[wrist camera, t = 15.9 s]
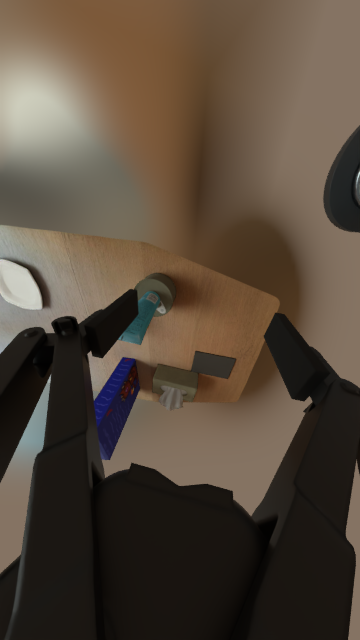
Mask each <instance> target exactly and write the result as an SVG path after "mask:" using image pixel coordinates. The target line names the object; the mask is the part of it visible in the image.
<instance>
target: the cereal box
mask: <svg viewBox="0 0 360 640" xmlns="http://www.w3.org/2000/svg"><path fill="white" fill-rule="evenodd" d="M139 390H140V386H139V379H138V373H137V367H136V361H135V359H131V358H124V357H123V358H122V359H121V361H120V362H119V364H118V365H117V367H116V368H115V370H114V371H113V373H112V375H111V376H110V378H109V379H108V381H107V382H106V384H105V385H104V387H103V388H102V390H101V391H100V393H99V394H98V396H97V398H96V399H95V401H94V407H95V415H96V423H97V431H98V439H99V447H100V454H101V459H104V460H110V458H111V456H112V453H113V451H114V449H115V446H116V444H117V442H118V439H119V437H120V435H121V432H122V430H123V428H124V425H125V423H126V421H127V418H128V416H129V413H130V411H131V409H132V406H133V404H134V402H135V399H136V397H137V395H138V392H139Z"/></svg>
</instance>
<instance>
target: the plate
mask: <svg viewBox="0 0 360 640" xmlns="http://www.w3.org/2000/svg"><path fill="white" fill-rule="evenodd" d="M0 294H1V295H2V297H3V298H4V299H5V300H6V301H7V302H9V303H12V304H14V305H16V306H19V307H21V308H25V309H31V310H38V309H43V304H42V295H41V292H40V289H39V287H38V285H37V283H36V281H35V280H34V278H33V276H32V275H31V273H30V271H29V270H28V269H26V268H24V267H22V266H20V265H18V264H16V263H13V262H11V261H8V260H3V259H0Z"/></svg>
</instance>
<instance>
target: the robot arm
mask: <svg viewBox="0 0 360 640" xmlns="http://www.w3.org/2000/svg"><path fill="white" fill-rule="evenodd" d="M351 196H352V200H353V202H354V204H355V205H356V207H358V208H359V209H360V162H359V164H358V166H357V168H356V171H355V173H354V176H353V180H352V185H351ZM138 314H139V311H138V292H137V290H133V289H129V290H128V291H127V292H126V293H124V294H123V295H122V296H121V297H119V298H118V299H117V300H115V301H114V302H113V303H112V304H110V305H109V306H108V307H107V308H105V309H104V310H102V309H101V310H98V311H96V312H94V313H93V314H92V315H91V316H89V317H88V318H86V319H85V320H84V321H82V322H81V323H80V324H78V323H77V319H76V318H75V317H73V316H64V317H60V318H58V319H55V320H54V321H53V322H52V323H51V324H52V327H53V329H54V332H55V333H46V332H45V330H44V329H43V328H41V327H33V328H29V329H25V330H24V331H22V332H20V333H19V334H18V335H17V336H16V337H15V338H14V339H13V340H12V342H11V343H10V344H9V345H8V346H7V347H6V348H5V349H4V351H3V352H2V353H1V354H0V482H1V480H2V478H3V476H4V474H5V472H6V470H7V468H8V465H9V463H10V461H11V459H12V457H13V455H14V452H15V450H16V448H17V446H18V444H19V441H20V439H21V437H22V435H23V433H24V430H25V429H26V427H27V424H28V422H29V420H30V418H31V416H32V414H33V412H34V409H35V407H36V405H37V403H38V401H39V399H40V396H41V394H42V392H43V390H44V388H45V386H46V383H47V381H48V379H49V377H50V375H51V383H50V393H49V401H48V411H47V420H46V429H45V438H44V446H43V449H42V451H41V452H40V453H38V454H37V457H36V459H35V463H34V466H33V473H32V480H31V487H30V495H29V502H28V510H27V516H26V523H25V531H24V538H23V545H22V552H21V555H20V556H19V557H18V558H17V559H16V560H15V561H13V562H12V563H11V564H10V565H9V566H8V567H7V568H6V569H5V570H4V571H3V572H2V573H1V574H0V640H348V635H349V625H350V616H351V606H352V596H353V586H354V577H355V567H356V554H355V551H354V548H353V546H352V545H351V544H350V542H349V541H348V540H347V538H346V525H347V518H348V512H349V505H350V498H351V491H352V485H353V478H354V472H355V465H356V459H357V463H358V469H359V474H360V388H359V387H358V386H356V385H355V384H353V383H352V382H350V381H347V380H345V379H341V378H340V377H339V376H338V375H337V373H336V372H335V371H334V370H333V369H332V367H331V366H330V365H329V364H328V363H327V361H326V360H325V359H324V358H323V356H322V355H321V354H320V353H319V352H318V351H317V350H316V349H314V348H313V347H310V346H309V345H308V344H307V343H306V341H305V340H304V339H303V337H302V336H301V335H300V334H299V332H298V331H297V330H296V329H295V327H294V326H293V325H292V323H291V322H290V321H289V320H288V318H287V317H286V316H285V315H284V314H280V313H275V315H274V317H273V319H272V321H271V323H270V325H269V327H268V329H267V331H266V333H265V335H264V338H265V340H266V343H267V345H268V347H269V349H270V352H271V354H272V356H273V358H274V361H275V363H276V365H277V367H278V369H279V372H280V374H281V376H282V378H283V381H284V383H285V385H286V387H287V389H288V392H289V394H290V396H291V398H292V399H295V400H300V401H305V400H306V399H307V398H308V397H309V396H310V397H311V399H312V401H313V402H312V403H311V404H310V405H309V406H308V407H307V408H306V409H305V410H304V411H303V412H305V415H304V417H303V420H302V421H301V424H300V426H299V428H298V430H297V432H296V434H295V436H294V438H293V440H292V442H291V444H290V446H289V448H288V450H287V452H286V454H285V456H284V458H283V460H282V462H281V464H280V466H279V468H278V470H277V472H276V475H275V476H274V478H273V480H272V482H271V484H270V487H269V489H268V491H267V493H266V495H265V497H264V499H263V500H262V502H261V503H260V505H259V506H258V507H257V508H256V510H255V511H254V513H253V514H252V516H250V515H249V514H248V512H247V511H246V510H245V509H244V508H243V507H242V506H241V505H239V504H238V503H237V502H236V501H235V500H233V491H230V490H227V489H223V488H220V487H216V486H213V485H209V484H199V485H189V486H178V485H176V484H175V483H174V482H172V481H171V480H169V479H168V478H166V477H165V476H164V475H162V474H161V473H159V472H158V471H156V470H155V469H152V468H148V467H145V466H141V465H138V464H134V463H131V466H130V469H127V470H122V471H118V472H116V473H114V474H112V475H110V476H108V477H106V478H105V475H104V468H103V464H102V459H101V454H100V447H99V439H98V431H97V423H96V415H95V407H94V399H93V391H92V383H91V375H90V367H89V359H88V355H87V354H88V353H89V352H90V351H91V352H92V356H94V357H99V358H103V357H104V356H105V354H106V353H107V352H108V351H109V350H110V348H111V347H112V346H113V345H114V344H115V342H116V341H117V340H118V339H119V337H120V336H121V335H122V334H123V333H124V331H125V330H126V329H127V328H128V327H129V325H130V324H131V323H132V322H133V320H134V319H135V318H136V317H137V316H138Z"/></svg>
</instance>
